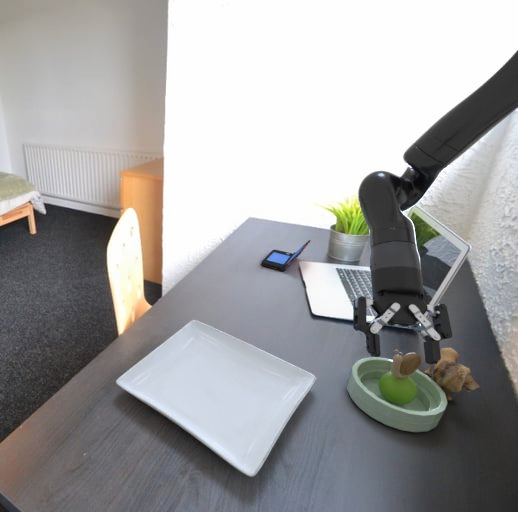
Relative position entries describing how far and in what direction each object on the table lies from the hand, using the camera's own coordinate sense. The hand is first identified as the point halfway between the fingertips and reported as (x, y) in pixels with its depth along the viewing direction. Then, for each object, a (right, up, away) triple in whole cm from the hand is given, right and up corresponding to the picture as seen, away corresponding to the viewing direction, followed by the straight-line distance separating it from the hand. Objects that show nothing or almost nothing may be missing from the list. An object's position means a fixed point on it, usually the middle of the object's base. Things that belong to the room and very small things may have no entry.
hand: (403, 360), depth 63 cm
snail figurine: (0, -8, +3) cm, 9 cm away
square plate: (-31, -8, +7) cm, 33 cm away
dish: (0, -9, +3) cm, 9 cm away
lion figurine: (+12, -7, +6) cm, 15 cm away
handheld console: (+4, +16, +53) cm, 56 cm away
